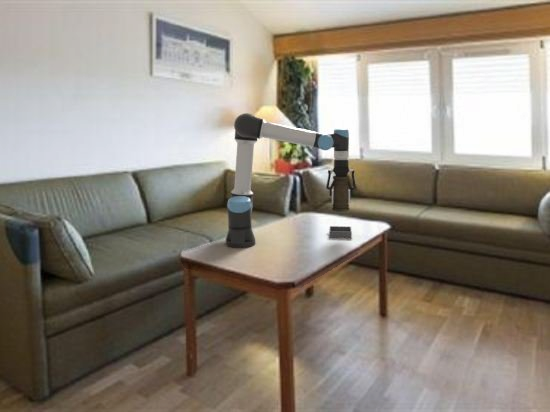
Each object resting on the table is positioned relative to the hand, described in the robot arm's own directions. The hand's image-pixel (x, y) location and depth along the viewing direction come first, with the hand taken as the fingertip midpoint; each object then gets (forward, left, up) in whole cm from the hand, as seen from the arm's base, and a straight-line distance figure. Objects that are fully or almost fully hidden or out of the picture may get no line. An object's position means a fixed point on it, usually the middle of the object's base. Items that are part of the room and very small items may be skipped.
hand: (340, 202), depth 243 cm
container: (0, 0, -4) cm, 4 cm away
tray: (0, 0, -18) cm, 18 cm away
